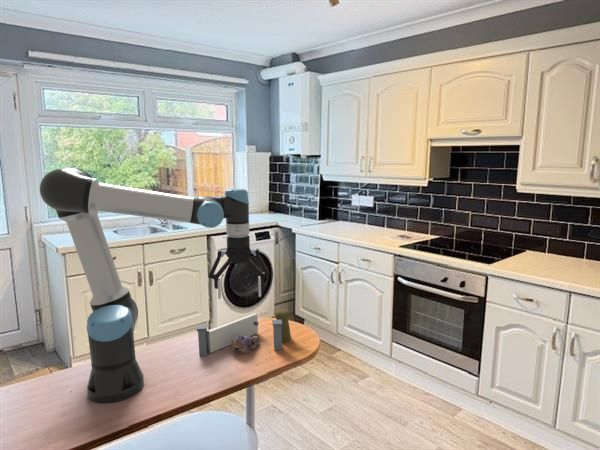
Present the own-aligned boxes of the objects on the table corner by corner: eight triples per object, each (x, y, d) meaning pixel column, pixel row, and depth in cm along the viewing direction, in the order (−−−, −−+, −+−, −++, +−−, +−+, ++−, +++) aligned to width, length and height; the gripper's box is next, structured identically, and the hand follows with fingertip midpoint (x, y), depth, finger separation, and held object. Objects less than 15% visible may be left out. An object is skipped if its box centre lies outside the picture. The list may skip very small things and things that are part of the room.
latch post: (273, 351, 144) (272, 324, 143) (272, 346, 148) (272, 320, 146) (282, 350, 145) (282, 323, 143) (282, 345, 148) (281, 319, 147)
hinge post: (198, 356, 141) (196, 329, 140) (199, 351, 145) (197, 324, 143) (208, 355, 142) (206, 328, 140) (208, 351, 145) (207, 324, 144)
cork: (273, 336, 156) (273, 308, 154) (289, 335, 157) (289, 307, 155) (275, 343, 150) (275, 314, 148) (292, 342, 151) (291, 313, 149)
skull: (252, 340, 153) (252, 325, 152) (267, 347, 148) (267, 330, 147) (226, 352, 144) (226, 336, 143) (241, 359, 139) (240, 342, 138)
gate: (210, 355, 142) (209, 333, 141) (206, 352, 144) (205, 331, 142) (260, 333, 158) (259, 314, 157) (255, 332, 160) (255, 312, 158)
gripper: (198, 238, 135) (201, 302, 138) (276, 236, 138) (277, 298, 141) (200, 234, 142) (203, 294, 145) (274, 232, 145) (275, 291, 149)
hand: (239, 296), depth 143 cm, fingers open, 13 cm apart
